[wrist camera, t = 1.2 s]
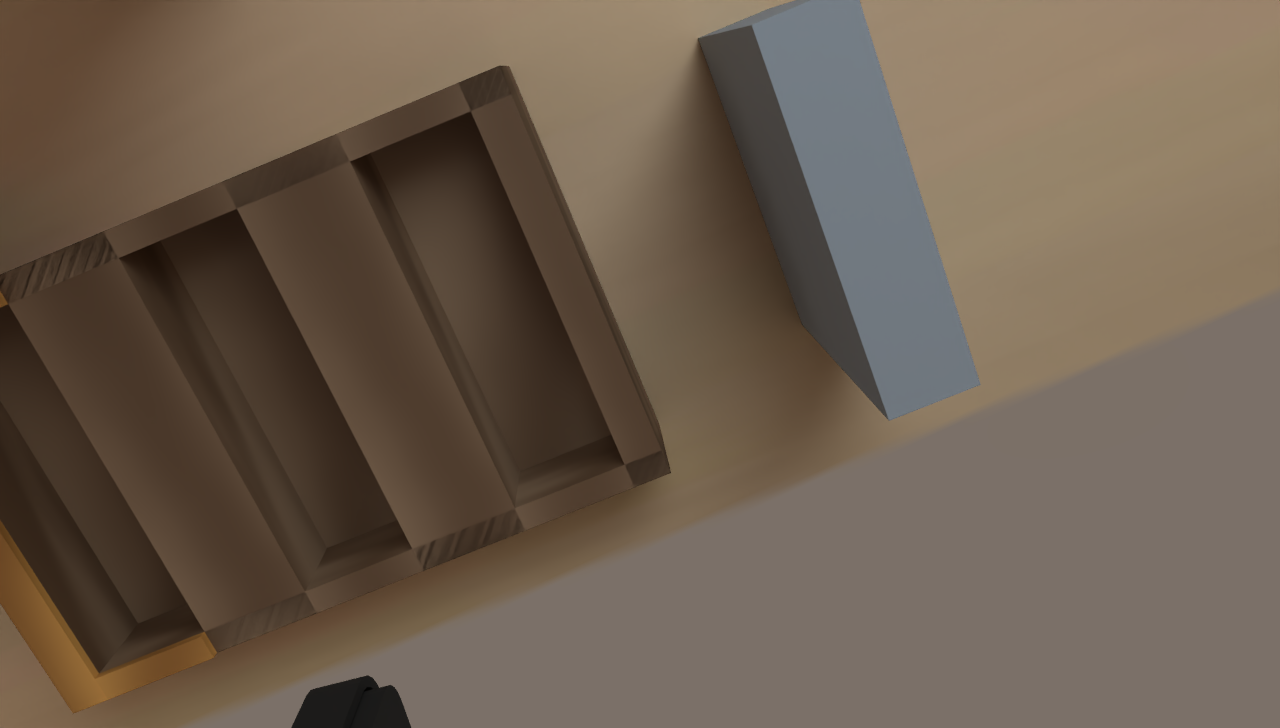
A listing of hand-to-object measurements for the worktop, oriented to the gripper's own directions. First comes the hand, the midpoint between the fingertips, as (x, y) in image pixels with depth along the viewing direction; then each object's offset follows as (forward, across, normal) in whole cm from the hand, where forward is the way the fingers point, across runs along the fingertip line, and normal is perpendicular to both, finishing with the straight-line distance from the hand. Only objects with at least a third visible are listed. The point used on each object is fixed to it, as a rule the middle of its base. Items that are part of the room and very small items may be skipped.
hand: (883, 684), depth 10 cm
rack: (+25, +13, 0) cm, 28 cm away
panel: (+25, -4, -2) cm, 26 cm away
